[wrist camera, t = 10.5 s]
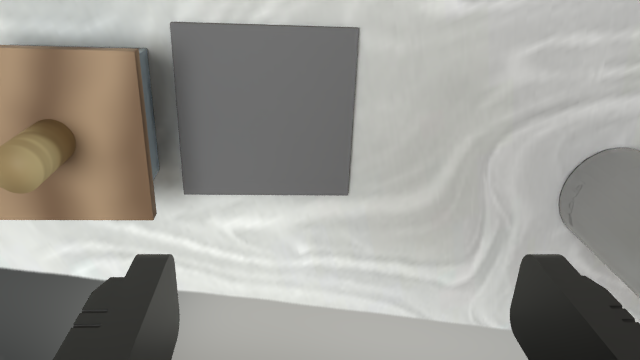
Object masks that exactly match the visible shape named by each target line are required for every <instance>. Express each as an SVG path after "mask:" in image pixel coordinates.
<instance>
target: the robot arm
mask: <svg viewBox="0 0 640 360" xmlns="http://www.w3.org/2000/svg"><path fill="white" fill-rule="evenodd" d="M559 208H560V215H561V217H562V220H563V222H564V223H565V225H566V226H567V228H568V229H569V230H570V231H571V232H572V233H573V234H574V235H576V236H577V237H578V238H579V239H580V240H581V241H582V242H583V243H584V244H585V245H586V246H587V247H588V248H589V249H590V250H591V251H592V252H593V253H594V254H595V255H596V256H597V257H598V258H599V259H600V260H601V261H602V262H603V263H604V264H605V265H606V266H607V267H608V268H609V269H610V270H611V271H612V272H613V273H614V274H615V275H617V276H618V277H619V278H620V279H621V280H622V281H623V282H624V283H625V284H626V285H627V286H628V287H629V288H630V289H631V290H632V291H633V292H634V293H635V294H636V295H637V296H638V297H639V298H640V151H638V150H634V149H631V148H615V149H610V150H606V151H603V152H600V153H598V154H596V155H594V156H592V157H590V158H589V159H587V160H586V161H584V162H583V163H582V164H581V165H579V166H578V167H577V168H576V169H575V170H574V172H573V173H572V174H571V175H570V176H569V178H568V180H567V181H566V183H565V185H564V187H563V189H562V192H561V195H560V202H559ZM510 323H511V328H512V331H513V334H514V336H515V338H516V339H517V341H518V342H519V344H520V346H521V348H522V349H523V351H524V353H525V354H526V356H527V357H528V360H640V324H639V323H638V322H635V319H634V317H633V316H632V315H631V314H630V313H629V312H628V311H627V310H626V309H622V305H621V304H620V303H619V302H618V301H617V300H616V299H615V298H614V297H613V296H612V294H611V293H610V292H609V291H608V290H607V289H605V288H604V287H602V286H600V285H599V284H597V283H596V282H594V281H592V280H591V279H589V278H588V277H586V276H581V275H580V274H579V273H578V272H577V270H576V269H575V268H574V267H573V266H572V265H571V264H570V263H569V262H568V261H567V260H566V258H564V257H563V256H562V255H559V254H529V255H526V256H525V257H524V258H523V259H522V262H521V265H520V269H519V274H518V278H517V282H516V286H515V291H514V295H513V299H512V303H511V308H510ZM178 331H179V303H178V293H177V282H176V272H175V263H174V258H173V256H172V255H171V254H138V255H136V256H135V258H134V260H133V262H132V264H131V266H130V268H129V270H128V272H127V274H126V276H125V277H110V278H109V279H108V280H107V281H105V282H104V283H103V284H102V285H100V286H99V287H98V288H97V289H96V290H94V291H93V292H92V293H91V295H90V297H89V298H88V300H87V302H86V304H85V305H84V307H83V309H82V313H80V314H79V316H78V317H77V319H76V321H75V323H74V327H73V328H71V330H70V332H69V333H68V335H67V336H66V338H65V340H64V342H63V343H62V345H61V347H60V349H59V350H58V352H57V354H56V355H55V357H54V359H53V360H171V359H172V355H173V352H174V348H175V344H176V341H177V336H178Z"/></svg>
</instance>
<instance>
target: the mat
mask: <svg viewBox="0 0 640 360" xmlns="http://www.w3.org/2000/svg"><path fill="white" fill-rule="evenodd" d="M170 29H171V42H172V54H173V66H174V78H175V90H176V102H177V115H178V127H179V139H180V151H181V163H182V176H183V188H184V194H202V195H348V185H349V170H350V155H351V140H352V125H353V110H354V95H355V80H356V65H357V50H358V35H359V28H356V27H324V26H291V25H258V24H225V23H193V22H171V23H170Z"/></svg>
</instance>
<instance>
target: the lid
mask: <svg viewBox="0 0 640 360" xmlns="http://www.w3.org/2000/svg"><path fill="white" fill-rule="evenodd" d="M156 214H157V213H156V204H155V195H154V185H153V176H152V167H151V158H150V149H149V139H148V130H147V121H146V112H145V102H144V93H143V84H142V75H141V66H140V56H139V49H131V48H94V47H57V46H20V45H0V220H154V218H155V216H156Z"/></svg>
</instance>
